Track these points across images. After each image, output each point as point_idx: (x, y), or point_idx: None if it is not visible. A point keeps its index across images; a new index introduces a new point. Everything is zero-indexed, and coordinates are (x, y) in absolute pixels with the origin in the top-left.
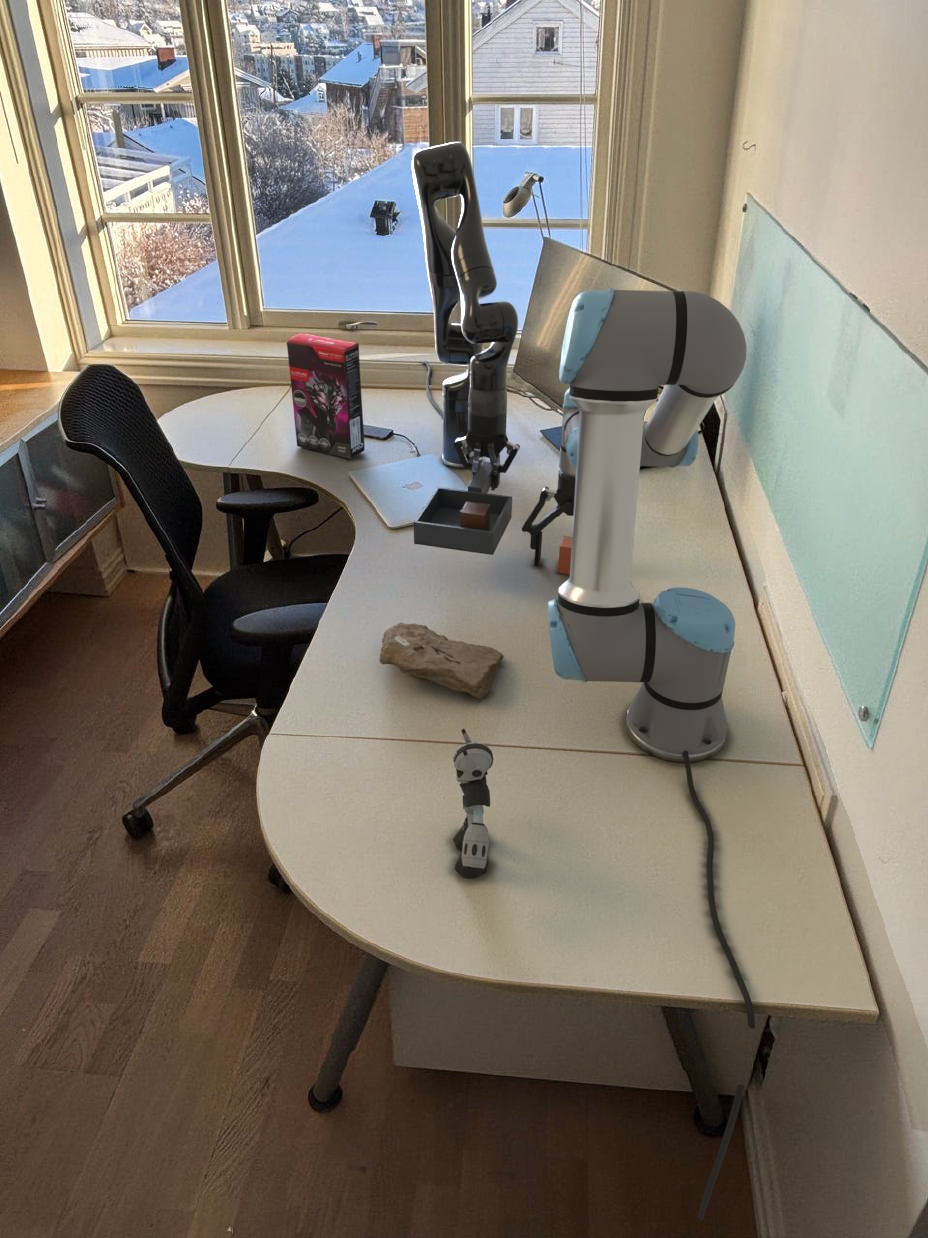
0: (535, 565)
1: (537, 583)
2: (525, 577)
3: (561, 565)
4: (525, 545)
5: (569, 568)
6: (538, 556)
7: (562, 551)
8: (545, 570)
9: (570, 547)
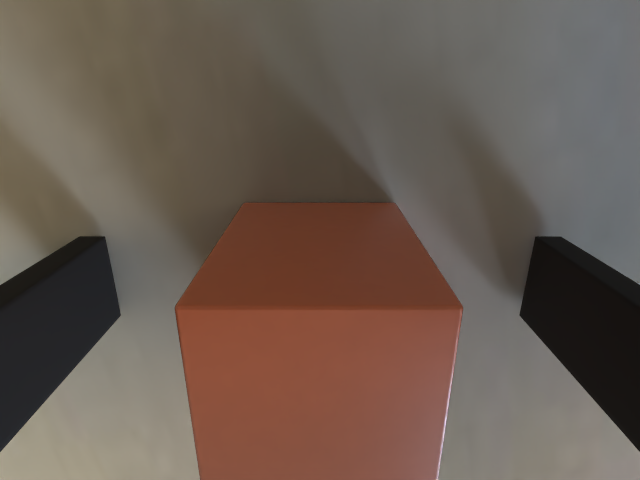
0: (553, 238)
1: (530, 8)
2: (621, 75)
3: (382, 220)
4: (603, 434)
5: (318, 216)
6: (582, 267)
7: (409, 274)
8: (478, 210)
9: (327, 311)
